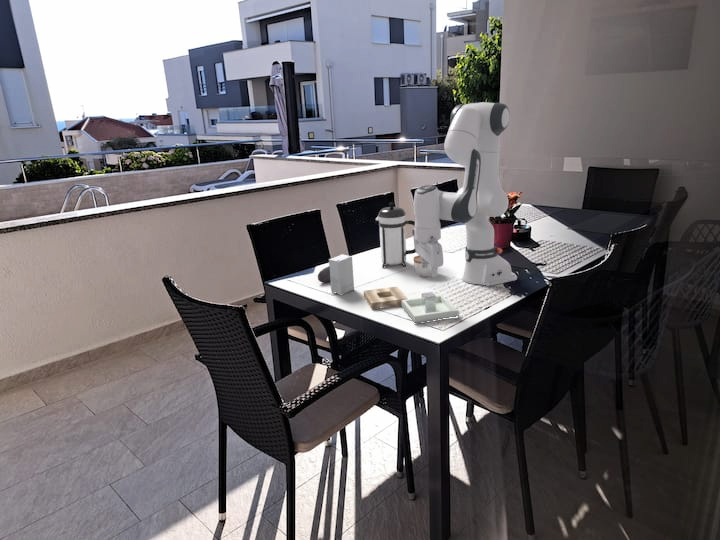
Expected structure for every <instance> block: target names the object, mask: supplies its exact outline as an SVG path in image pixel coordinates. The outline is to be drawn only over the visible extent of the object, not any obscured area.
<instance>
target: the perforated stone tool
mask: <svg viewBox="0 0 720 540" xmlns="http://www.w3.org/2000/svg"><path fill="white" fill-rule="evenodd" d="M317 281H318V282H321V283H327V282H328V281H329V282H331V279H330V267H329V265H328V266H326V267H324V268H323V269H321V270H320V271H319V272H318V274H317Z"/></svg>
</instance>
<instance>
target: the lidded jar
mask: <svg viewBox="0 0 720 540" xmlns="http://www.w3.org/2000/svg"><path fill="white" fill-rule="evenodd" d="M427 263H428V262H427ZM413 266H414V270H415V272H416V273H417V274H418V275H419V276H420V277H423V278H427V277H432V276H431V272H430V271H431V268H432V267H431V265H430V264H429V263H428V267H427V268H423V267H422V263H421V259H420V255H416V256H414V257H413Z"/></svg>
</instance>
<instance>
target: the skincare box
mask: <svg viewBox="0 0 720 540" xmlns="http://www.w3.org/2000/svg"><path fill="white" fill-rule="evenodd" d="M328 266H329V267H330V279H331V281H330V288H331V289H330V290H331V293H333V292H336V293H339V294H343V293H345V294H346V292H347V293H349V292H351V291H353V290H355V282H354V270H353V269H354V266H353V256H351V255H348V254H347V255H346V254H343V253H341V254H339V255H338V256H335V257H332V258H328ZM348 291H349V292H348ZM336 293H335V294H336ZM339 294H338V295H339ZM343 295H344V294H343Z"/></svg>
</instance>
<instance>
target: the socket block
mask: <svg viewBox="0 0 720 540" xmlns="http://www.w3.org/2000/svg"><path fill="white" fill-rule="evenodd" d="M364 297H365V298H364ZM363 298H364V299H365V301H366V300H367V301H366V303H367V304H368V303H369V304H368V305H370V306H369V307H370V309H371V308H372V309H371V310H374V309H373V308H378V309H381V308H380V307H386V308H389V307H388V306H393V307H397V306H396V305H401V300H406V299H409V298H408V297H407V296H406V295H405V294H404V292H403V291H402V290H401V289H400V288H399V287H398V286H391V287H384V288H374V289H367V290H363Z"/></svg>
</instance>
